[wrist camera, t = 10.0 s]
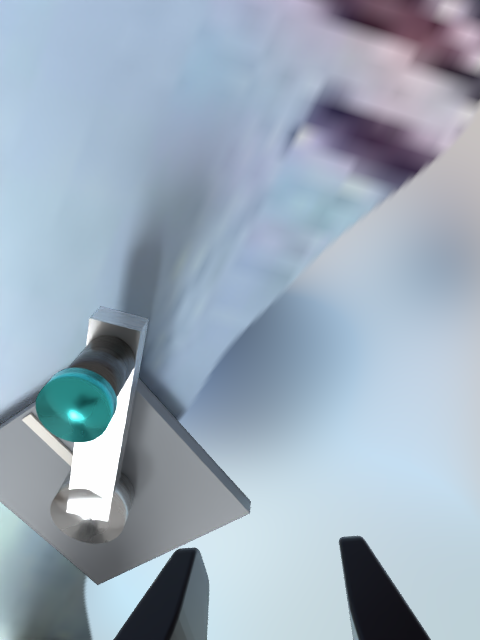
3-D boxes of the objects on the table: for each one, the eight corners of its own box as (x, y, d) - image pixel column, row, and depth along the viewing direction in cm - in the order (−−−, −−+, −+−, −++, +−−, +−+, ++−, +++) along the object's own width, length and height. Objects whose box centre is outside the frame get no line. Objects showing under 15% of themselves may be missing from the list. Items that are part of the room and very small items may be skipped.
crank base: (250, 501, 24) (249, 514, 23) (102, 572, 27) (97, 586, 26) (112, 348, 21) (105, 358, 20) (-38, 450, 24) (-49, 462, 23)
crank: (129, 522, 24) (91, 625, 19) (62, 506, 24) (7, 606, 19) (170, 318, 19) (133, 388, 14) (86, 296, 18) (18, 359, 14)
